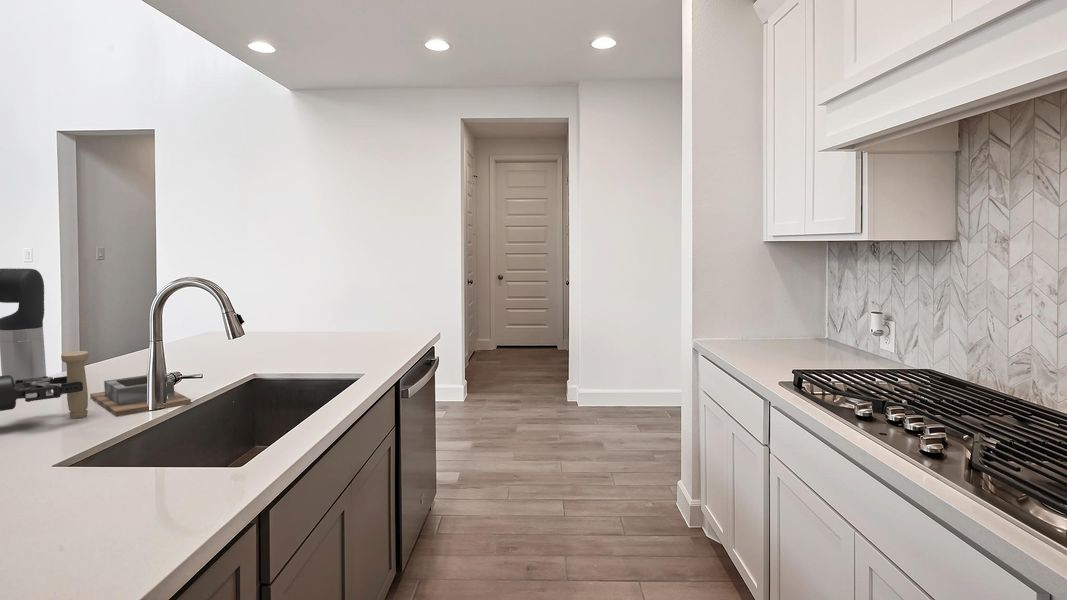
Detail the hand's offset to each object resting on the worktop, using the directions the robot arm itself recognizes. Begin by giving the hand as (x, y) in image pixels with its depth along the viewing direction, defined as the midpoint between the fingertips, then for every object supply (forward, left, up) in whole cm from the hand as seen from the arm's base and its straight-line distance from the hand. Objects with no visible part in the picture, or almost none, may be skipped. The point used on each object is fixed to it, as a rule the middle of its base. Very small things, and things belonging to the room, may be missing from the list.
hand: (78, 383), depth 140 cm
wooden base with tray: (-6, +14, -8) cm, 17 cm away
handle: (0, 0, -8) cm, 8 cm away
